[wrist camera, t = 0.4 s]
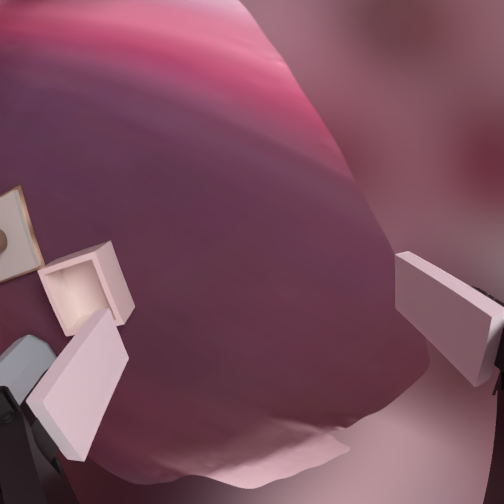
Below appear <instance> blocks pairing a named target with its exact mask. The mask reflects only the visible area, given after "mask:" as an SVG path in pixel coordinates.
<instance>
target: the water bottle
mask: <svg viewBox="0 0 504 504" xmlns="http://www.w3.org/2000/svg"><path fill="white" fill-rule="evenodd" d="M56 359H57V357H56V355H55V354H54V352H53V351H52V349H51V348H50V346H49V344H48V343H46V342H45V341H43V340H41V339H39V338H37V337H35V336H33V335H29V334H28V335H26V336H24V337H22V338H20V339H17V340H16V341H15V342H14V343H13V344H12V345H11V346H10V347H9V348H8V349H7V350H6V351H5V352H4V353H3V354H2V355H1V356H0V386H6V387H8V388H9V390H10V391H11V393H12V395H13V396H14V398H15V399H16V401H17V403H18V404H19V406H20V404H21V403H22V401H23V400H24V398H25V397H26V396H27V394H28V393H29V392H30V390H31V389H32V387H34V385H35V383H36V382H37V381H39V380H38V379H39V378H40V377H41V375H42V374H43V373H44V371H46V370H47V369H48V368H49V367H51V365H52V364H53V363H54V361H55V360H56Z"/></svg>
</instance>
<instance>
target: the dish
mask: <svg viewBox="0 0 504 504" xmlns="http://www.w3.org/2000/svg"><path fill="white" fill-rule="evenodd" d="M38 274H39V276H40V279H41V281H42V284H43V286H44V289H45V291H46V294H47V296H48V298H49V301H50V303H51V305H52V308H53V310H54V312H55V314H56V316H57V319H58V321H59V323H60V325H61V327H62V329H63V331H64V333H65V335H66V336H71V335H76V333H77V332H78V331H79V330H80V328H81V327H82V326H83V325H84V324H85V322H86V321H87V320H88V319H89V318H90V316H91V315H92V314H93V313H94V312H95V310H100V309H107V308H110V311H111V314H112V316H113V319H114V322H115V325H116V326H119V325H124V324H125V322H126V321H127V319H128V317H129V316H130V314H131V313H132V311H133V309H134V308H135V305H134V302H133V300H132V297H131V295H130V292H129V290H128V287H127V285H126V282H125V279H124V277H123V274H122V271H121V269H120V266H119V263H118V260H117V258H116V255H115V252H114V249H113V246H112V243H111V241H108V242H105V243H102V244H99V245H96V246H93V247H90V248H87V249H84V250H81V251H78V252H75V253H72V254H69V255H66V256H64V257H61V258H58V259H55V260H54V261H52V262H51V263H49V264H47V265H46V266H44V267H43V268H41V269H39V270H38Z"/></svg>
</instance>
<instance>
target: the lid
mask: <svg viewBox="0 0 504 504" xmlns="http://www.w3.org/2000/svg"><path fill="white" fill-rule="evenodd" d="M40 265H41V264H40V262H39V259H38V256H37V253H36V250H35V247H34V244H33V241H32V238H31V235H30V232H29V229H28V225H27V222H26V219H25V215H24V212H23V208H22V204H21V201H20V197H19V193H18V190H13V191H11V192H10V193H8V194H6V195H4V196H3V197H1V198H0V281H2V280H4V279H7V278H9V277H12V276H15V275H17V274H20V273H23V272H26V271H28V270H31V269H34V268H37V267H38V266H40Z"/></svg>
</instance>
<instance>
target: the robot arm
mask: <svg viewBox="0 0 504 504" xmlns="http://www.w3.org/2000/svg"><path fill="white" fill-rule="evenodd" d="M395 308H396V309H397V310H398V311H399V312H400V313H401V314H402V315H403V316H404V317H405V318H406V319H407V320H408V321H409V322H410V323H412V324H413V325H414V326H415V327H416V328H417V329H418V330H419V331H420V332H421V333H422V334H423V335H424V336H425V337H426V338H427V339H428V340H429V341H430V342H431V343H432V344H433V345H434V346H435V347H436V348H437V349H438V350H439V351H440V352H441V353H442V354H443V355H444V356H445V357H446V358H447V359H448V360H449V361H450V362H451V363H452V364H453V365H454V366H455V367H456V368H457V369H458V370H459V371H460V372H461V373H462V374H463V375H464V376H465V377H466V378H467V380H468V381H469V382H470V383H472V385H473V386H474V387H477V386H478V385H480V384H482V383H484V382H486V381H488V380H489V379H490V378H491V375H492V371H493V368H494V365H495V366H496V367H497V368H499V369H500V373H499V376H498V379H497V382H496V385H495V388H494V391H493V394H492V395H495V393H496V391H497V390H498V395H497V416H496V428H495V439H494V447H493V455H492V461H491V467H490V473H489V479H488V484H487V488H486V493H485V498H484V502H483V504H504V303H502V302H501V301H499V300H497V299H495V298H494V297H493V296H491V295H488V294H487V293H486V292H484V291H483V290H481V289H479V288H476V287H473V286H469V285H467V284H465V283H464V282H462V281H460V280H459V279H456V278H455V277H453V276H452V275H450V274H448V273H447V272H445V271H443V270H441V269H440V268H438V267H436V266H434V265H433V264H431V263H429V262H427V261H425V260H424V259H422V258H420V257H418V256H416V255H415V254H413V253H411V252H409V251H407V252H403V253H398V254H395ZM128 359H129V357H128V355H127V352H126V350H125V348H124V345H123V343H122V340H121V338H120V335H119V332H118V330H117V327H116V325H115V322H114V319H113V316H112V314H111V311H110V308H107V309H100V310H95V312H94V313H93V314H92V315H91V316H90V318H89V319H88V320H87V321H86V322H85V324H84V325H83V326H82V327H81V328H80V330H79V331H78V332H77V333H76V335H75V336H74V337H73V338H72V340H71V341H70V342H69V343H68V345H67V346H66V347H65V349H64V350H63V351H62V352H61V354H60V355H59V356H58V358H57V359H56V360H55V361H54V363H53V364H52V365H51V367H49V368H48V369H47V370H46V371H44V373H43V374H42V375H41V377H40V378H39V379H38V380H39V381H37V382H36V383H35V385H34V387H32V389H31V390H30V392H29V393H28V394H27V396H26V397H25V398H24V400H23V401H22V403H21V404H20V406H19V404H18V403H17V401H16V399H15V398H14V396H13V395H12V393H11V391H10V390H9V388H8V387H6V386H0V504H79V502H78V500H77V498H76V496H75V494H74V492H73V490H72V488H71V485H70V483H69V481H68V479H67V476H66V474H65V472H64V470H63V467H62V465H61V462H60V461H59V459H58V458H57V457H56V456H55V455H56V453H57V451H58V449H60V451H61V452H62V453H63V455H64V456H65V457H66V458H67V459H69V460H76V461H85V459H86V456H87V454H88V451H89V449H90V446H91V444H92V441H93V439H94V436H95V434H96V432H97V429H98V427H99V424H100V422H101V420H102V417H103V415H104V413H105V410H106V408H107V406H108V403H109V401H110V399H111V396H112V394H113V392H114V390H115V387H116V385H117V383H118V381H119V379H120V376H121V374H122V372H123V370H124V368H125V366H126V363H127V361H128Z"/></svg>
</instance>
